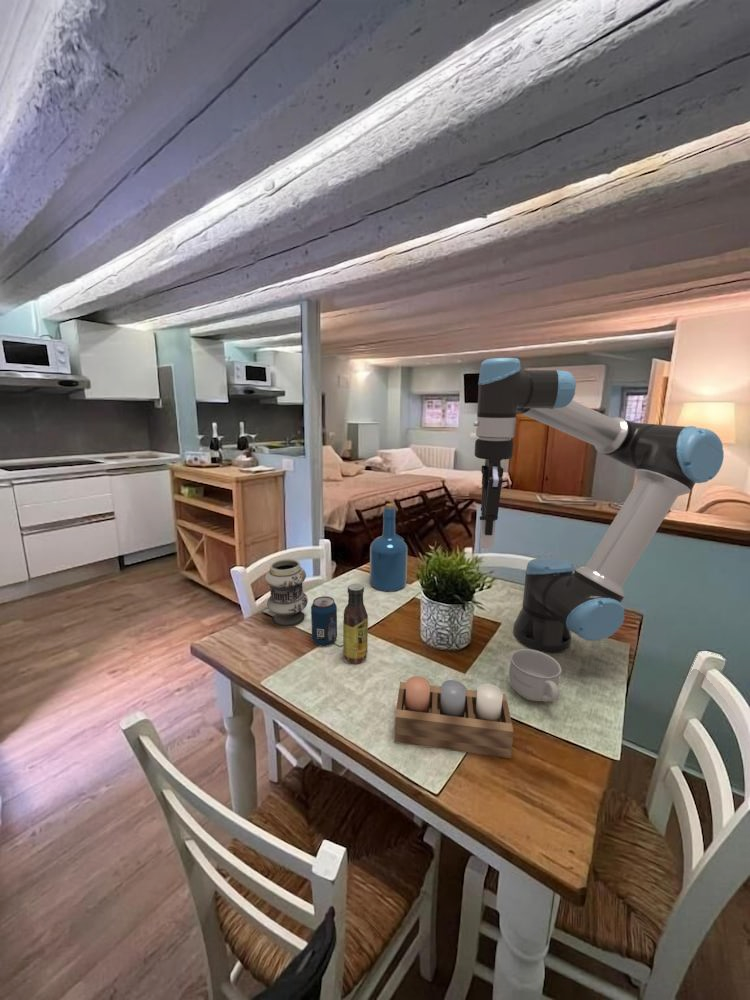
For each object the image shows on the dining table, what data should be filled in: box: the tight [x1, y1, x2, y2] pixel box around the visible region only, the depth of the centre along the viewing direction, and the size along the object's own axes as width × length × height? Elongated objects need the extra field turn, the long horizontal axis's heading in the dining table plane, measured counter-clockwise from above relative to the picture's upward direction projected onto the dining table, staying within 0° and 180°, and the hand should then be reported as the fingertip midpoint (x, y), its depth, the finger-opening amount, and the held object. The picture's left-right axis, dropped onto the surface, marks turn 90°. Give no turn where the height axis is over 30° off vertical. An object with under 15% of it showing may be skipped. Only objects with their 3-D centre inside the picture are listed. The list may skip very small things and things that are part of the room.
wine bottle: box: [369, 503, 409, 592], centre depth 144 cm, size 14×13×30 cm
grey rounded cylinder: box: [440, 679, 467, 717], centre depth 81 cm, size 5×5×6 cm
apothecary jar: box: [265, 558, 309, 629], centre depth 122 cm, size 12×12×18 cm
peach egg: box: [405, 675, 431, 713], centre depth 82 cm, size 5×5×6 cm
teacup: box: [508, 648, 562, 702], centre depth 92 cm, size 14×11×8 cm
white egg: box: [475, 683, 504, 722], centre depth 80 cm, size 5×5×6 cm
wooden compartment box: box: [393, 681, 515, 759], centre depth 82 cm, size 22×10×6 cm, turn 81°
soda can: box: [310, 595, 338, 647], centre depth 112 cm, size 7×7×12 cm
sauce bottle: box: [342, 583, 369, 665], centre depth 103 cm, size 6×6×20 cm
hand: (486, 547), depth 89 cm, fingers closed
